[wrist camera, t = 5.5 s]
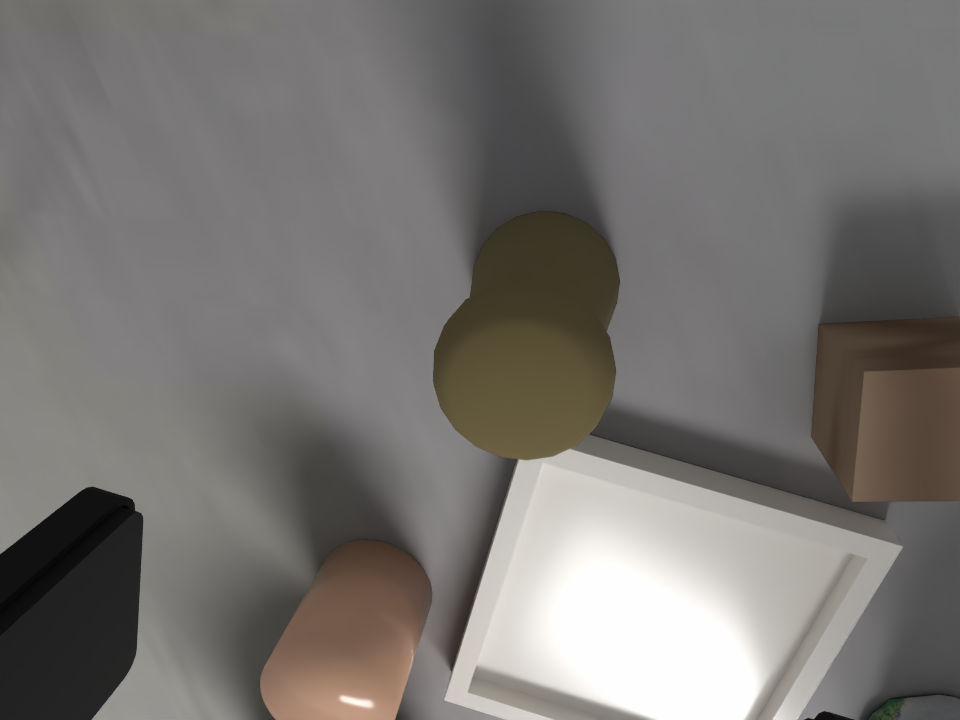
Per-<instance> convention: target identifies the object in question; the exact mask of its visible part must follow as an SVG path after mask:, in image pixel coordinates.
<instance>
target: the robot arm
mask: <svg viewBox="0 0 960 720" xmlns="http://www.w3.org/2000/svg"><path fill="white" fill-rule="evenodd" d="M142 535H143V516H142V514H141V513H139V512H136V511H135V504H134V502H133V500H132V499H130V498H128V497H125V496H121V495H118V494H115V493H112V492H108V491H105V490H102V489H99V488H95V487H88V488H85V489H84V490H82V491H80V492H79V493H78V494H77V495H75V496H74V497H73V498H71V499H70V500H69V501H68V502H66V503H65V504H64V505H63V506H61V507H60V508H59V509H57V510H56V511H55V512H54V513H52V514H51V515H50V516H49V517H47V518H46V519H45V520H43V521H42V522H41V523H40V524H38V525H37V526H36V527H35V528H33V529H32V530H31V531H29V532H28V533H27V534H26V535H24V536H23V537H22V538H21V539H19V540H18V541H17V542H15V543H14V544H13V545H12V546H10V547H9V548H8V549H7V550H5V551H4V552H3V553H1V554H0V720H92V718H93V717H94V716H95V715H96V713H97V712H98V711H99V710H100V708H101V707H102V706H103V704H104V703H105V702H106V701H107V699H108V698H109V697H110V696H111V694H112V693H113V692H114V691H115V689H116V688H117V687H118V686H119V684H120V683H121V682H122V681H123V679H124V678H125V676H126V675H127V673H128V672H129V670H130V668H131V666H132V664H133V661H134V659H135V655H136V650H137V632H138V613H139V593H140V574H141V555H142ZM805 720H853V719H850V718H847V717H843V716H840V715H837V714H833V713H830V712H826V711H824V712H821V713H819V714H818V715H817V716H816V718H815V719H810V718H807V719H805Z"/></svg>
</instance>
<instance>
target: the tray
mask: <svg viewBox="0 0 960 720" xmlns="http://www.w3.org/2000/svg"><path fill="white" fill-rule="evenodd" d="M902 548H903V545H902V544H901V542H900V541H899V539H898V538H897V536H896V535H895V534H894V532H893V531H892V529H891V528H890V526H889V525H888V523H887V522H886V521H884V520H881V519H877V518H874V517H871V516H867V515H864V514H860V513H857V512H853V511H850V510H847V509H843V508H840V507H836V506H833V505H829V504H826V503H822V502H819V501H816V500H812V499H809V498H805V497H802V496H798V495H795V494H792V493H788V492H785V491H781V490H778V489H774V488H771V487H768V486H764V485H761V484H757V483H754V482H750V481H747V480H743V479H740V478H737V477H733V476H730V475H726V474H723V473H719V472H716V471H713V470H709V469H706V468H702V467H699V466H695V465H692V464H689V463H685V462H682V461H678V460H675V459H671V458H668V457H664V456H661V455H658V454H654V453H651V452H647V451H644V450H640V449H637V448H634V447H630V446H627V445H623V444H620V443H616V442H613V441H610V440H606V439H603V438H599V437H596V436H592V435H588V436H587V437H585V438H584V439H583V440H582V441H581V442H580V443H579V444H578V445H577V446H575V447H573V448H570V449H568V450H566V451H564V452H562V453H560V454H558V455H555V456H553V457H547V458H540V459H533V460H520V459H517V460H516V464H515V467H514V470H513V473H512V477H511V480H510V483H509V486H508V490H507V493H506V496H505V499H504V503H503V506H502V509H501V512H500V516H499V519H498V522H497V525H496V529H495V532H494V535H493V538H492V542H491V545H490V548H489V551H488V554H487V558H486V561H485V564H484V567H483V571H482V574H481V577H480V580H479V584H478V587H477V590H476V593H475V597H474V600H473V603H472V606H471V610H470V613H469V616H468V619H467V623H466V626H465V629H464V632H463V636H462V639H461V642H460V645H459V649H458V652H457V655H456V658H455V662H454V665H453V668H452V671H451V675H450V679H449V683H448V687H447V691H446V695H445V701H448V702H452V703H455V704H458V705H461V706H464V707H467V708H471V709H474V710H477V711H480V712H483V713H486V714H490V715H493V716H496V717H499V718H502V719H505V720H798V718H799V716H800V715H801V713H802V711H803V710H804V708H805V707H806V705H807V703H808V702H809V700H810V698H811V697H812V695H813V693H814V692H815V690H816V689H817V687H818V685H819V684H820V682H821V680H822V679H823V677H824V675H825V674H826V672H827V671H828V669H829V667H830V666H831V664H832V662H833V661H834V659H835V658H836V656H837V654H838V653H839V651H840V649H841V648H842V646H843V644H844V643H845V641H846V640H847V638H848V636H849V635H850V633H851V631H852V630H853V628H854V626H855V625H856V623H857V622H858V620H859V618H860V617H861V615H862V613H863V612H864V610H865V608H866V607H867V605H868V604H869V602H870V600H871V599H872V597H873V595H874V594H875V592H876V590H877V589H878V587H879V586H880V584H881V582H882V581H883V579H884V577H885V576H886V574H887V573H888V571H889V569H890V568H891V566H892V564H893V563H894V561H895V559H896V558H897V556H898V555H899V553H900V551H901V550H902Z"/></svg>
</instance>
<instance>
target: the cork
mask: <svg viewBox="0 0 960 720" xmlns="http://www.w3.org/2000/svg"><path fill="white" fill-rule="evenodd" d="M619 284H620V279H619V274H618V269H617V264H616V259H615V257H614V255H613V253H612V252H611V250H610V248H609V246H608V245H607V243H606V241H605V239H604V238H603V237H602V236H601V235H599V234H598V233H597V232H596V231H595V230H594V229H593V228H592V227H590V226H589V225H588V224H587V223H586V222H583V221H581V220H579V219H576V218H574V217H572V216H569V215H567V214H565V213H555V212H544V211H539V212H535V213H530V214H526V215H522V216H517V217H516V218H514V219H512V220H511V221H509V222H507V223H506V224H504V225H502V226H501V227H499V228H498V229H496V231H495V232H494V233H493V234H492V235H491V237H490V238H489V239H488V240H487V241H486V242H485V244H484V245H483V246H482V248H481V251H480V253H479V256H478V258H477V261H476V263H475V266H474V271H473V278H472V285H471V292H470V298H468V299H466V300H465V301H464V302H463V304H462V305H461V306H460V307H459V308H458V309H457V310H456V312H455V313H454V314H453V315H452V316H451V317H450V319H449V320H448V321H447V323H446V324H445V325H444V327H443V330H442V332H441V335H440V337H439V340H438V343H437V345H436V348H435V350H434V371H433V382H434V387H435V391H436V394H437V397H438V401H439V404H440V407H441V409H442V411H443V412H444V414H445V415H446V417H447V418H448V420H449V421H450V423H451V424H452V426H453V427H454V429H455V430H456V431H457V432H459V433H460V434H461V435H462V436H464V437H465V438H466V439H467V440H468V441H470V442H471V443H472V444H473V445H475V446H476V447H478V448H481V449H483V450H485V451H488V452H490V453H492V454H495V455H497V456H499V457H504V458H512V459H520V460H533V459H540V458H547V457H553V456H555V455H558V454H560V453H562V452H564V451H566V450H568V449H570V448H573V447H575V446H577V445H578V444H579V443H580V442H581V441H582V440H583V439H584V438H585V437H587V436H588V435H589V434H590V433H591V432H592V431H593V430H594V429H595V428H596V427H597V425H598V423H599V422H600V420H601V418H602V416H603V414H604V412H605V411H606V409H607V407H608V405H609V403H610V401H611V399H612V396H613V389H614V382H615V375H616V367H615V361H614V356H613V351H612V346H611V341H610V337H609V335H608V333H607V332H606V331H607V328H608V326H609V323H610V320H611V318H612V315H613V312H614V310H615V307H616V304H617V298H618V291H619Z"/></svg>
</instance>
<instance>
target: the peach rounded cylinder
mask: <svg viewBox="0 0 960 720" xmlns="http://www.w3.org/2000/svg"><path fill="white" fill-rule="evenodd" d="M431 603H432V587H431V584H430V580H429V578H428V576H427V574H426V572H425V571H424V569H423V568H422V567H421V565H420V564H419V563H418V562H417V561H416V560H415V559H414V558H413V557H412V556H410V555H409V554H408V553H406V552H405V551H403V550H402V549H400V548H398V547H396V546H394V545H391V544H388V543H385V542H381V541H376V540H356V541H351V542H348V543H345V544H343V545H341V546H339V547H337V548H336V549H334V550H333V551H332V552H331V553H330V554H329V555H328V556H327V558H326V559H325V561H324V563H323V564H322V566H321V568H320V570H319V571H318V573H317V575H316V577H315V578H314V580H313V582H312V584H311V585H310V587H309V589H308V591H307V592H306V594H305V596H304V598H303V599H302V601H301V603H300V605H299V606H298V608H297V610H296V612H295V613H294V615H293V617H292V619H291V620H290V622H289V624H288V626H287V627H286V629H285V631H284V633H283V634H282V636H281V638H280V640H279V641H278V643H277V645H276V647H275V649H274V650H273V652H272V654H271V656H270V657H269V659H268V661H267V663H266V664H265V666H264V668H263V671H262V674H261V678H260V689H261V694H262V698H263V700H264V703H265V705H266V707H267V708H268V710H269V712H270V713H271V715H272V716H273V717H274V718H275V719H276V720H395V718H396V715H397V712H398V709H399V705H400V702H401V699H402V696H403V693H404V690H405V686H406V683H407V680H408V677H409V674H410V671H411V667H412V664H413V661H414V658H415V655H416V652H417V648H418V645H419V642H420V639H421V636H422V632H423V629H424V626H425V623H426V620H427V617H428V613H429V610H430V607H431Z"/></svg>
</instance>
